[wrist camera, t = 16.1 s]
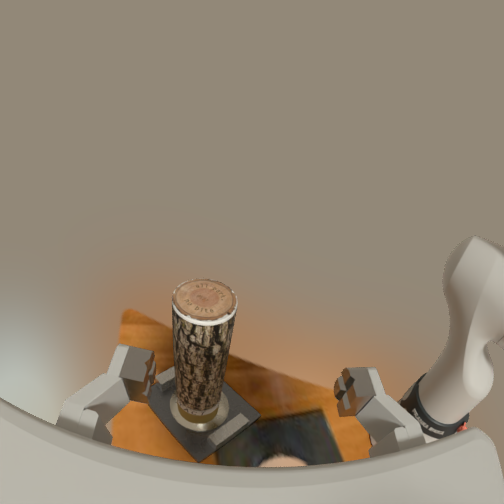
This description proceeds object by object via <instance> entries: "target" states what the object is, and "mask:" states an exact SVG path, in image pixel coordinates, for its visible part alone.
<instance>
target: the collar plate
mask: <svg viewBox="0 0 504 504" xmlns="http://www.w3.org/2000/svg"><path fill="white" fill-rule="evenodd" d="M155 381H156V384H155V385H153V386H151V389H152V393H151V397H150V401H149V404H148V405H149V407H150V408H151V409H152V411H153V412H154V413H155V414H156V416H157V417H158V418H159V419H160V421H161V422H162V423H163V424H164V426H165V427H166V428H167V429H168V430H169V432H170V433H171V434H172V435H173V436H174V437H175V438H176V440H177V441H178V442H179V443H180V444H181V445H182V446H183V447H184V449H185V450H186V451H187V452H188V453H189V454H190V455H191V456H192V457H193V458H194V459H195V460H196V461H197V462H198V463H200V462H201V461H203V460H204V459H206V458H207V457H209V456H210V455H211V454H213V453H214V452H216V451H217V450H219V449H220V448H221V447H223V446H224V445H225V444H227V443H228V442H229V441H231V440H232V439H233V438H235V437H236V436H237V435H239V434H240V433H241V432H243V431H244V430H245V429H246V428H248V427H249V426H250V425H251V424H253V423H254V422H255V421H256V420H258V419H259V418H260V417H261V414H260V413H258V412H257V411H256V410H255V409H254V408H253V407H252V406H250V405H249V404H248V403H247V402H246V401H245V400H244V399H243V398H242V397H240V396H239V395H238V394H237V393H236V392H235V391H234V390H233V389H232V388H231V387H230V386H229V385H227V384H226V383H225V382H224V381H223V387H222V392H221V398H220V403H219V408H218V413H217V415H216V416H215V418H214V419H213V420H211V421H210V422H208V423H204V424H194V423H191V422H188V421H187V420H185V419H184V418H183V417H182V416H181V415H180V413H179V411H178V406H177V396H176V383H175V369H174V366H173V367H171V368H170V369H168V370H166V371H164V372H162V373H160V374H158V375H156V376H155Z"/></svg>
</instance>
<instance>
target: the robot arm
mask: <svg viewBox="0 0 504 504" xmlns="http://www.w3.org/2000/svg"><path fill="white" fill-rule="evenodd" d="M443 292H444V295H445V298H446V301H447V304H448V308H449V315H450V330H449V337H448V340H447V343H446V346H445V348H444V350H443V352H442V354H441V355H440V356H439V358H438V360H437V361H436V362H435V364H434V365H433V366H432V367H431V369H430V370H429V371H428V372H427V373H425V374H424V375H423V376H421V377H420V378H419V379H418V381H417V382H415V383H414V384H413V385H412V386H411V387H410V388H409V390H408V391H407V392H406V393H405V394H404V396H403V398H402V399H400V400H399V401H398V402H396V401H395V400H394V399H393V398H391V397H390V396H389V395H386V394H385V391H384V388H383V385H382V383H381V380H380V377H379V374H378V371H377V369H376V368H375V367H366V368H365V367H359V368H358V367H357V368H345V369H343V371H342V372H341V373H342V376H340V377H339V378H337V380H336V382H335V385H334V395H335V397H336V398H337V399H338V400H339V402H338V403H337V408H338V413H339V417H346V416H355V417H356V418H357V420H358V421H359V422H360V423H361V424H362V426H363V427H364V428H365V429H366V430H367V432H368V433H369V434H370V438H371V443H372V447H371V448H370V449H369V455H370V458H365V459H360V460H354V461H347V462H340V463H332V464H323V465H312V466H298V467H235V466H221V465H210V464H201V463H193V462H186V461H179V460H173V459H167V458H162V457H157V456H152V455H147V454H143V453H139V452H134V451H130V450H127V449H123V448H119V447H116V446H112V445H111V442H112V438H113V437H112V435H111V434H110V432H109V431H108V430H107V428H106V426H105V425H106V424H107V423H108V422H109V421H110V420H111V419H112V418H113V417H114V416H115V415H116V414H117V413H118V412H119V411H120V410H121V409H122V408H124V407H125V406H126V405H127V404H128V403H129V402H130V400H131V401H136V402H141V403H146V404H149V401H150V397H151V393H152V389H151V385H152V384H153V383H154V380H155V375H156V362H155V361H154V357H155V355H154V351H150V350H146V349H141V348H137V347H132V346H128V345H124V344H119V345H118V346H117V348H116V350H115V353H114V355H113V358H112V361H111V363H110V366H109V368H108V371H107V374H105V373H103V374H102V375H100V376H99V377H97V378H96V379H94V380H93V381H92V382H90V383H89V384H87V385H86V386H85V387H83V388H82V389H80V390H79V391H78V392H76V393H75V394H73V395H72V396H71V397H69V398H68V399H66V400H65V402H64V405H63V407H62V410H61V412H60V415H59V418H58V420H57V423H56V425H54V424H51V423H49V422H47V421H44V420H42V419H40V418H38V417H36V416H34V415H32V414H30V413H28V412H26V411H24V410H21V409H20V408H18V407H16V406H14V405H12V404H11V403H9V402H7V401H5V400H3V399H2V398H0V504H504V480H503V475H502V470H501V466H500V462H499V458H498V455H497V451H496V448H495V445H494V443H493V441H492V439H491V438H490V437H489V436H487V435H486V434H485V433H484V432H483V431H481V430H480V429H478V428H477V427H470V428H468V429H467V427H465V424H466V423H467V422H468V419H469V411H471V410H472V409H473V408H474V407H475V406H476V405H477V404H478V403H479V402H480V401H481V400H482V399H484V398H485V396H487V394H488V393H489V391H490V389H491V387H492V384H493V379H494V370H493V363H492V360H491V357H490V354H489V352H488V349H487V342H489V341H493V342H494V343H496V344H498V345H499V346H500V347H501V348H502V349H503V350H504V247H503V246H501V245H498V244H496V243H494V242H492V241H489V240H486V239H484V238H481V237H478V236H472V237H469V238H467V239H465V240H464V241H462V242H461V243H459V244H458V245H457V246H456V247H455V248H454V250H453V251H452V252H451V254H450V256H449V258H448V260H447V262H446V264H445V268H444V273H443Z"/></svg>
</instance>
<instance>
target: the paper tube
mask: <svg viewBox="0 0 504 504" xmlns="http://www.w3.org/2000/svg"><path fill="white" fill-rule="evenodd" d="M236 310H237V297H236V295H235V293H234V292H233V291H232V290H231V289H230V288H229V287H228V286H226V285H225V284H223V283H221V282H218V281H215V280H211V279H193V280H189V281H186V282H184V283H182V284H180V285H179V286H178V287H177V288H176V289H175V291H174V292H173V296H172V320H173V321H172V322H173V350H174V369H175V383H176V396H177V406H178V411H179V413H180V415H181V416H182V417H183V418H184V419H185V420H187V421H188V422H191V423H194V424H204V423H208V422H210V421H211V420H213V419H214V418H215V416H216V415H217V413H218V408H219V403H220V398H221V392H222V387H223V381H224V376H225V370H226V365H227V359H228V354H229V348H230V343H231V337H232V332H233V326H234V321H235V316H236Z"/></svg>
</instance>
